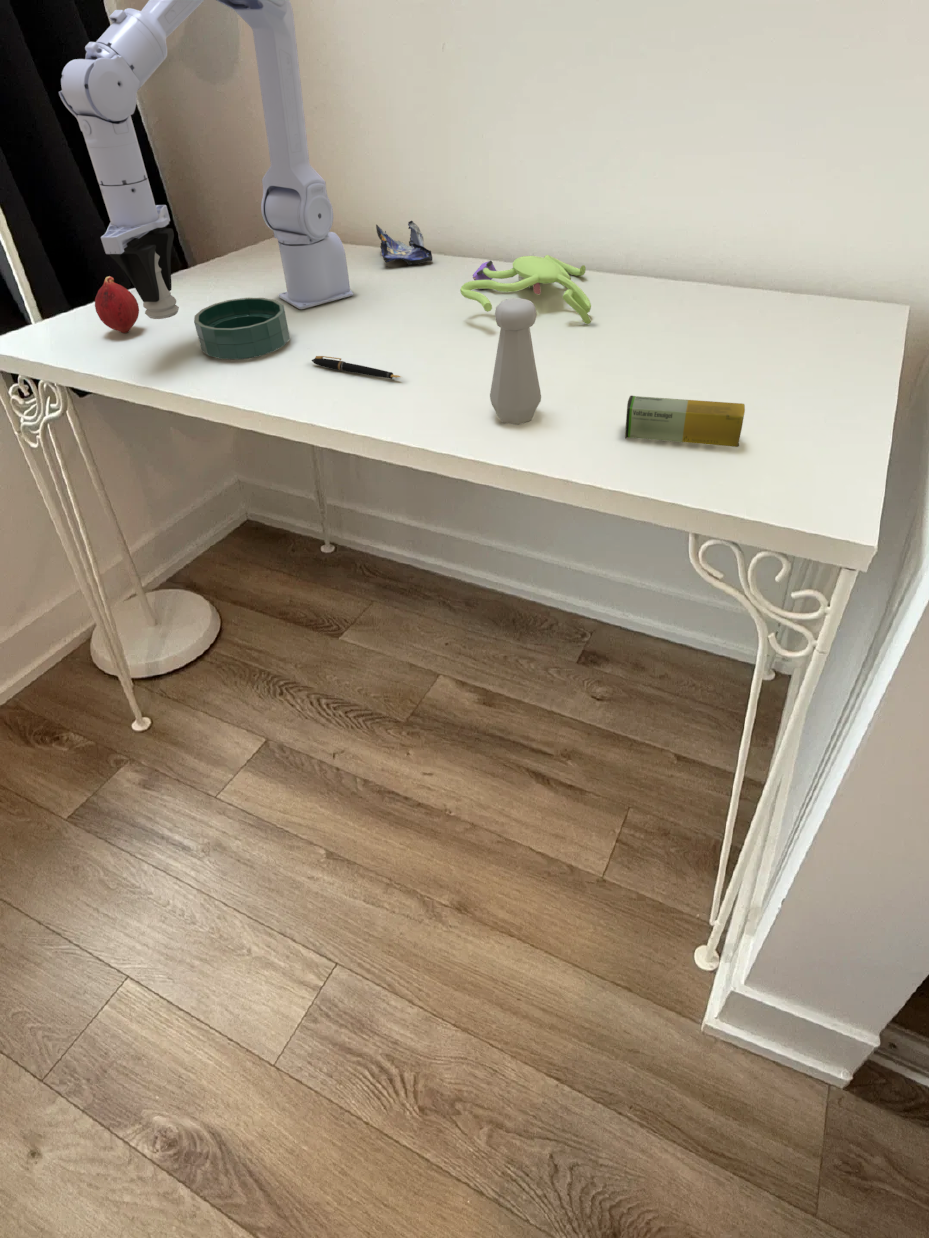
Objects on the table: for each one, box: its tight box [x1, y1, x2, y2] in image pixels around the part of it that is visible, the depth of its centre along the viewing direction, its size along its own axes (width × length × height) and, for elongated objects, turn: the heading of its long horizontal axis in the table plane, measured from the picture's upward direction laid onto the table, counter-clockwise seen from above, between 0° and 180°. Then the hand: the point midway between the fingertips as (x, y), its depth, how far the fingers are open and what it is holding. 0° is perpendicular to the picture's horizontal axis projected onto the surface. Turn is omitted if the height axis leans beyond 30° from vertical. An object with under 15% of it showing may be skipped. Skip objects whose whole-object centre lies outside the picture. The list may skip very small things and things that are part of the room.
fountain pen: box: [311, 355, 402, 380], centre depth 101 cm, size 14×1×2 cm, turn 62°
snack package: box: [375, 220, 433, 268], centre depth 136 cm, size 12×6×12 cm
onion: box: [94, 275, 140, 334], centre depth 114 cm, size 6×6×8 cm
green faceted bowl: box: [193, 297, 291, 360], centre depth 109 cm, size 12×12×4 cm
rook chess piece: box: [142, 252, 180, 320], centre depth 102 cm, size 4×4×8 cm
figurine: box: [459, 254, 592, 325], centre depth 117 cm, size 18×27×6 cm
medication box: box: [624, 395, 746, 448], centre depth 83 cm, size 12×3×4 cm, turn 73°
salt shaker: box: [489, 297, 542, 426], centre depth 86 cm, size 6×6×13 cm
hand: (157, 296), depth 103 cm, fingers closed on rook chess piece, 3 cm apart
